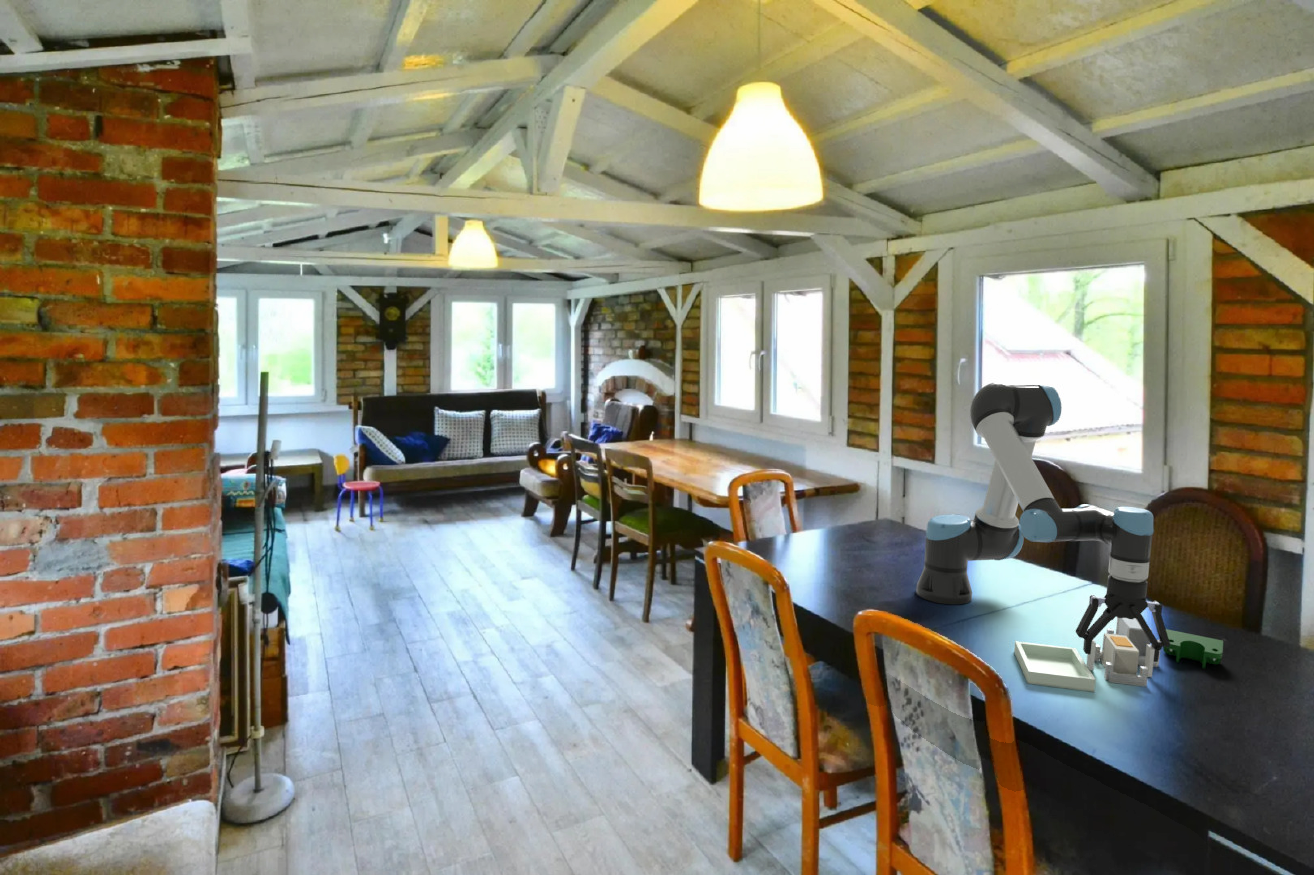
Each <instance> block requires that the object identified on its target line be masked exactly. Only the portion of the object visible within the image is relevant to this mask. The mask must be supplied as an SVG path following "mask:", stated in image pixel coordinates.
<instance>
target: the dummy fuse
mask: <svg viewBox="0 0 1314 875" xmlns="http://www.w3.org/2000/svg"><path fill="white" fill-rule="evenodd" d="M1116 618H1117V617H1116ZM1116 620H1117V621H1116V627H1115V628H1116V629H1115V634H1116V635H1124V636H1127V637H1128V639H1129V640H1130V641H1131V642H1132V643H1133V645H1134V646H1135V647H1136V648H1137V649H1138V651H1139V655H1141V656H1146V646H1147V644H1150V645H1151V642H1150V641H1149V639H1148V638H1147V636H1146V634H1145V633H1144V631H1143V630H1142V628H1141V626H1140V625H1139V623H1138V622H1137V620H1136V619H1135V618H1134V619H1128V618H1117V619H1116ZM1149 628H1150V626H1149ZM1150 629H1151V628H1150ZM1151 631H1152V632H1153V630H1152V629H1151Z"/></svg>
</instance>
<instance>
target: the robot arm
mask: <svg viewBox="0 0 1314 875" xmlns="http://www.w3.org/2000/svg"><path fill="white" fill-rule="evenodd" d="M1062 409H1063V408H1062V400H1061V397H1060V395H1059V393H1058V391H1057V390H1056V388H1055V387H1054V386H1052V385H1051V384H1049V383H1047V382H1037V381H1035V380H1034V381H1008V382H1007V381H996V382H992V383H988V384H987V385H985V386H983V387H982V388H980V389H979V390H978V391H977V392H976V394H975V395H974V397H973V399H972V400H971V405H970V410H969V411H970V412H969V414H970V420H971V424H972V427H973V429H974V431H975V433H976V434H977V436H978V437H980V438H983V439H984V441H985V442H986V445H987V446H988V448H989V450H990V452H991V454H992V456H993V457H994V463H993V468H992V471H991V476H990V480H989V484H988V487H987V492H986V495H985V499H984V503H983V506H982V507H978V508H977V509H976V511H975V514H974V518H973V519H971V518H970V517H968V516H966V515H962V514H950V513H949V514H939V515H936V516H933V517H931V518H930V519H929V520H928V521H927V525H926V530H925V545H924V546H925V548H924V565H923V569H922V572H921V573H920V574H921V575H920V576H919V579H918V581H917V583H916V589H915V590H916V591H915V593H916V595H917V596H919V597H920V598H922V599H924V600H926V601H929V602H933V603H938V604H943V605H944V604H945V605H965V604H968V603H970V602H971V601H972V598H973V591H972V590H973V589H972V586H971V583H970V580H969V575H968V562H970V561H971V562H972V561H1003V560H1009V559H1013V558H1014V557H1016V556H1017V555H1018V554H1019V553H1020V551H1021V550H1022V547H1023V544H1024V539H1026V540H1028V542H1029V541H1030V542H1033V543H1034V542H1035V543H1036V542H1038V543H1051V542H1053V543H1054V542H1067V541H1068V542H1079V541H1080V542H1081V541H1082V542H1084V541H1098V542H1100V543H1103V544H1107V545H1109V546H1110V552H1109V564H1108V570H1107V571H1108V573H1109V575H1108V576H1107V584H1106V593H1105V595H1104V596H1103V597H1102V596H1096V595H1094V594H1091V595H1090V596H1089V604H1088V605H1087V608H1086V610H1085V612H1084V613H1083V615H1082V617H1081V619H1080V621H1079V623H1078V625H1077V627H1076V628H1075V633H1076V635H1077V636H1078V638H1080V639H1083V646H1082V647H1083V648H1082V650H1083V652H1084V654H1086V655H1087V657H1086V665H1087V667H1088V669H1089V670H1090V671H1094V670H1095V669H1094V668H1095V661H1094V660H1095V649H1096V644H1097V642H1096V641H1095V638H1096V637H1097V636H1098V635H1099V634H1100V633H1101V631H1103V630H1104V629H1105V627H1106V626H1107V625H1108V624H1109V623H1111V621H1113V620H1114V619H1115V618H1128V619H1134V618H1135V619H1136V620H1137V622H1138V623H1139V625H1140V626H1141V628H1142V630H1143V631H1144V633H1145V634H1146V636H1147V638H1148V639H1149V641H1150V642H1151V644H1147V646H1146V656H1145V666H1144V667H1147V668H1148V678H1152V677H1153V671H1154V667H1153V662H1158V659H1159V660H1160V657H1159V650H1160V651H1161V650H1162V649H1163V647H1169V646H1170V642H1169V638H1168V635H1167V632H1166V629H1167V628H1166V625H1165V622H1164V619H1163V615H1162V613H1163V606H1162V604H1161V603H1159V602H1158V601H1157V600H1154V601H1147V593H1148V591H1147V590H1148V581H1147V579H1148V578H1149V570H1150V560H1151V550H1152V545H1153V544H1152V543H1153V534H1154V532H1155V530H1154V515H1153V513H1152V512H1151V511H1150V510H1148V509H1144V508H1140V507H1135V506H1118V507H1116V508H1115V509H1114V511H1112V510H1109V509H1107V508H1103V507H1101V506H1098V505H1095V504H1094V505H1093V504H1087V503H1086V504H1085V503H1084V504H1080V505H1078V506H1076V507H1074V508H1061V507H1060V505H1059V504H1058V502H1057V500H1056V499H1055V497H1054V495H1053V493H1052V491H1051V490H1050V487H1048V485H1047V483H1046V481H1045V479H1044V477H1043V475H1042V474H1041V471H1040V470H1039V469H1038V467H1037V464H1036V463H1035V461H1034V460H1033V458H1032V456H1033V453H1034V448H1035V446H1036V442H1037V440H1039V439H1041V438H1043V437H1044V436H1045V433H1046V430H1047V427H1051V426H1053V425H1055V424H1056V423H1057V422H1058V421H1059V420H1060V418H1061V414H1062ZM1018 505H1019V506H1020V508H1021V510H1022V511H1023V512H1022V513H1021V515H1020V518H1018V517H1017V516H1016V513H1017V509H1018ZM1103 604H1105V606H1106V608H1105V610H1103V612H1102V614H1100V616H1099V617H1098V618H1097V619H1096V621H1095V622H1093V619H1094V617H1095V616H1096V613H1097V612H1098V610H1099V608H1100V607H1102V605H1103ZM1147 608H1148V610H1149V612H1150V613H1151V615H1152V618H1153V621H1154V624H1155V628H1156V632H1157V634H1158V638H1159V639H1157V638H1156V636H1155V634H1154V633H1153V630H1152V629H1151V628H1149V627H1150V626H1149V624H1148V623H1147V621H1146V619H1145V618H1144V616H1143V615H1142V613H1143V612H1144V611H1145V610H1146V609H1147ZM1092 622H1093V623H1092ZM1091 623H1092V625H1091ZM1151 630H1152V631H1151Z"/></svg>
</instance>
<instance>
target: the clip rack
mask: <svg viewBox="0 0 1314 875" xmlns="http://www.w3.org/2000/svg"><path fill="white" fill-rule="evenodd" d="M1106 634H1114V635H1116V633H1115V630H1114V629H1113V628H1106ZM1101 648H1102V647H1101V646H1100V644H1097V643H1096V649H1095V660H1094V662H1100V661H1101V658H1102V649H1101ZM1160 656H1161V650H1159V659H1158V662H1153V668H1159V664H1160ZM1138 666H1139V670H1138V671H1139V672H1138V674H1137V675H1132V674H1123V673H1115V672H1113V667H1114V665H1113V664H1112V663H1110V662H1106V664H1105V667H1104V676H1103V678H1104V680H1105V681H1108V682H1109V683H1112V684H1120V685H1126V686H1127V685H1128V686H1135V687H1136V686H1137V687H1144V688H1145V687H1146V688H1147V686H1148V678H1149V677H1148V668H1147V667H1144V666H1145V656H1141V655H1139V659H1138Z"/></svg>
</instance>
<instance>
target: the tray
mask: <svg viewBox="0 0 1314 875" xmlns="http://www.w3.org/2000/svg"><path fill="white" fill-rule="evenodd" d="M1013 652H1014V655H1015V658H1016V660H1017V662H1018V665H1019V667H1020V670H1021V671H1022V674H1023V676H1024V678H1025V681H1026V683H1027V684H1028V685H1029V684H1030V685H1036V686H1037V685H1038V686H1043V687H1052V688H1060V689H1067V690H1075V691H1083V692H1089V693H1090V692H1091V693H1095V688H1096V678H1095V677H1094V675H1093V674H1092V673H1093V672H1092V671H1091V670H1090V669H1089V668H1088V666H1087V663H1086V662H1085V661H1084V659H1083V658H1082V656H1081V655H1080V652H1079V651H1078V650H1077V648H1076V647H1069V646H1060V645H1050V644H1042V643H1033V642H1025V641H1017V640H1015V641H1014V651H1013Z"/></svg>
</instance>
